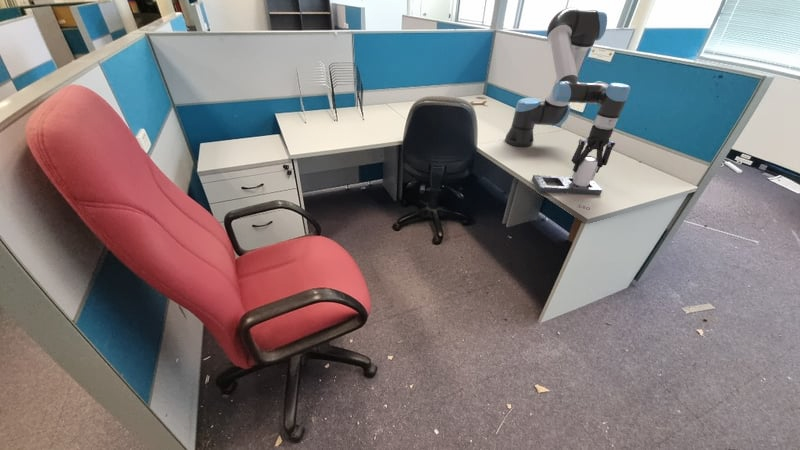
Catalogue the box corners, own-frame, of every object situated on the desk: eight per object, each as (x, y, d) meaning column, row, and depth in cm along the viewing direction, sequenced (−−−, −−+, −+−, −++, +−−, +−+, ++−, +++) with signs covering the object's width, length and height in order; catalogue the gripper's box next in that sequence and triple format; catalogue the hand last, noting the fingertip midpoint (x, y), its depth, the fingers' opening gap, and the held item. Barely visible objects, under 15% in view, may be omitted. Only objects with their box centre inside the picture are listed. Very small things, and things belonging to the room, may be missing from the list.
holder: (531, 179, 150) (533, 175, 148) (588, 182, 149) (591, 177, 148) (539, 192, 141) (540, 187, 139) (600, 195, 141) (602, 189, 139)
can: (585, 189, 140) (596, 163, 133) (570, 183, 143) (579, 158, 136) (590, 183, 144) (601, 158, 137) (575, 178, 147) (585, 153, 140)
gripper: (582, 128, 126) (562, 181, 139) (633, 130, 126) (608, 184, 139) (574, 122, 132) (556, 173, 145) (623, 124, 132) (600, 175, 145)
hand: (582, 178), depth 142 cm, fingers closed on can, 6 cm apart
